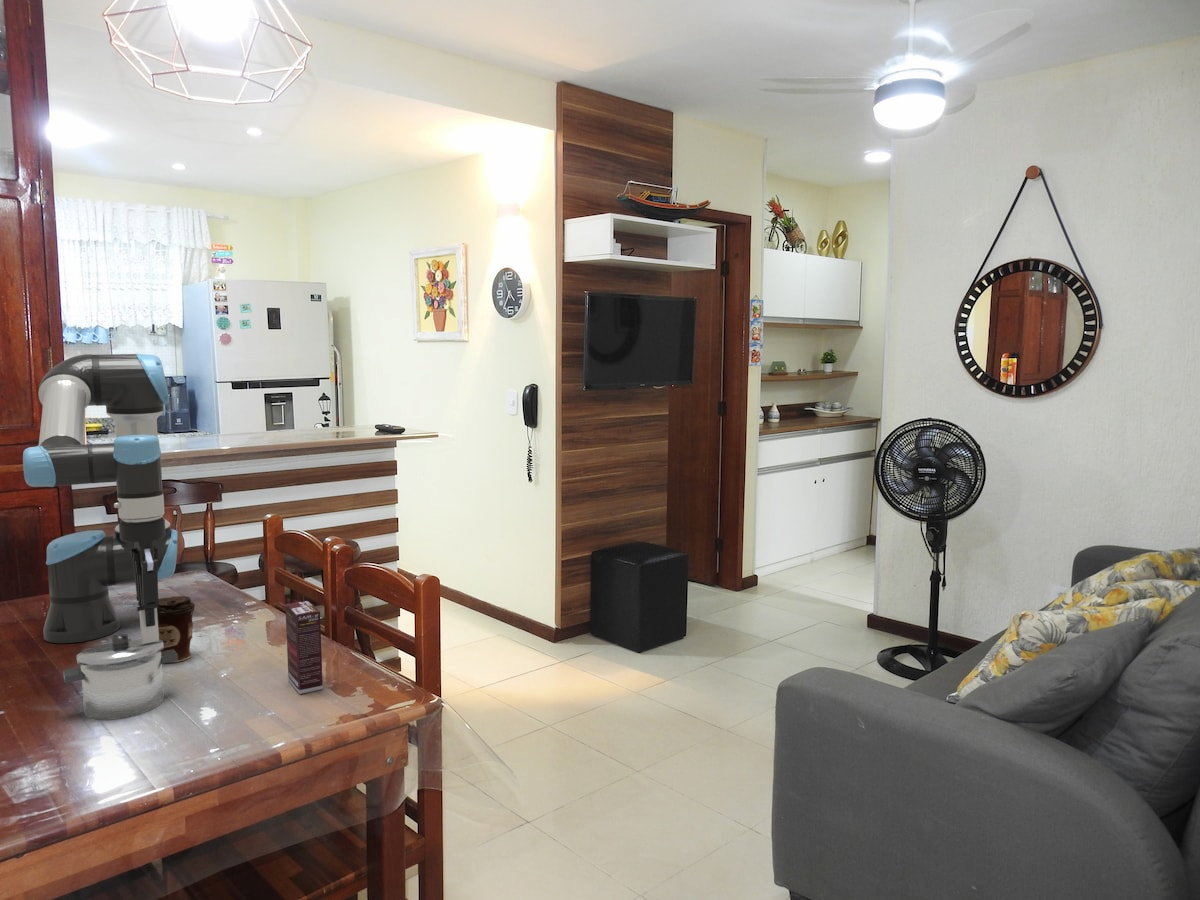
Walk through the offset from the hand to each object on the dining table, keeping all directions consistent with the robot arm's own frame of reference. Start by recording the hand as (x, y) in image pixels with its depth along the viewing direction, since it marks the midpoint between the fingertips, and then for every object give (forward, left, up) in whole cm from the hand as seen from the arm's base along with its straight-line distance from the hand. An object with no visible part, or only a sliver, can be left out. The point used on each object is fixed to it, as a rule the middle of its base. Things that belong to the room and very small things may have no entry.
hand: (150, 640), depth 159 cm
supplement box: (+12, +25, -11) cm, 30 cm away
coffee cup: (-19, +7, -11) cm, 24 cm away
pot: (+1, -5, -11) cm, 12 cm away
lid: (0, -5, -1) cm, 5 cm away
